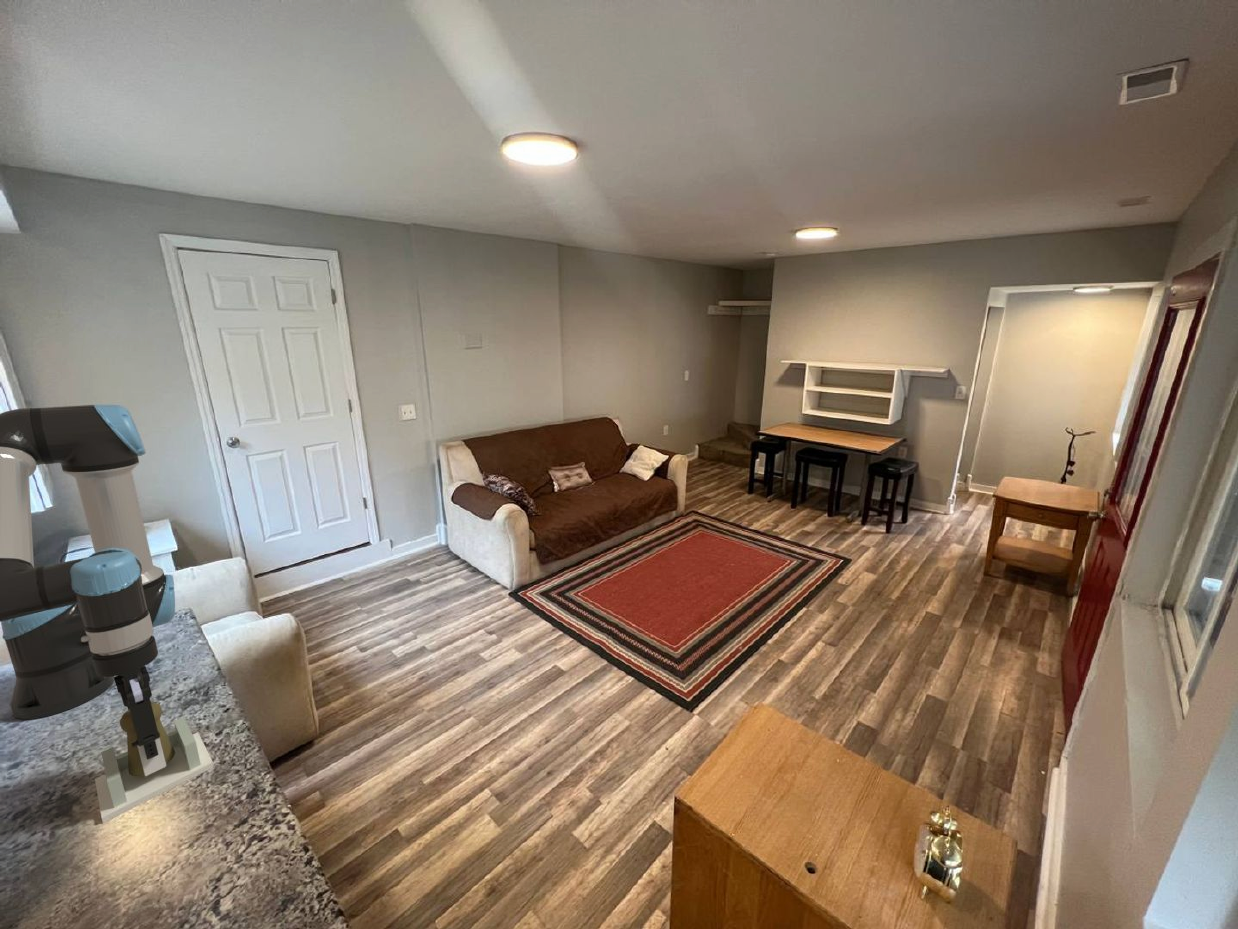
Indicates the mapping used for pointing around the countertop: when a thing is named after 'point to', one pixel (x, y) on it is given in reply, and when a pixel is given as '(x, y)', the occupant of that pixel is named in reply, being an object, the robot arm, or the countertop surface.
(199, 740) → the holder
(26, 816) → the countertop surface
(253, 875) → the countertop surface
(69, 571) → the robot arm
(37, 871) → the countertop surface
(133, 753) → the brown rounded knob
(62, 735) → the countertop surface
